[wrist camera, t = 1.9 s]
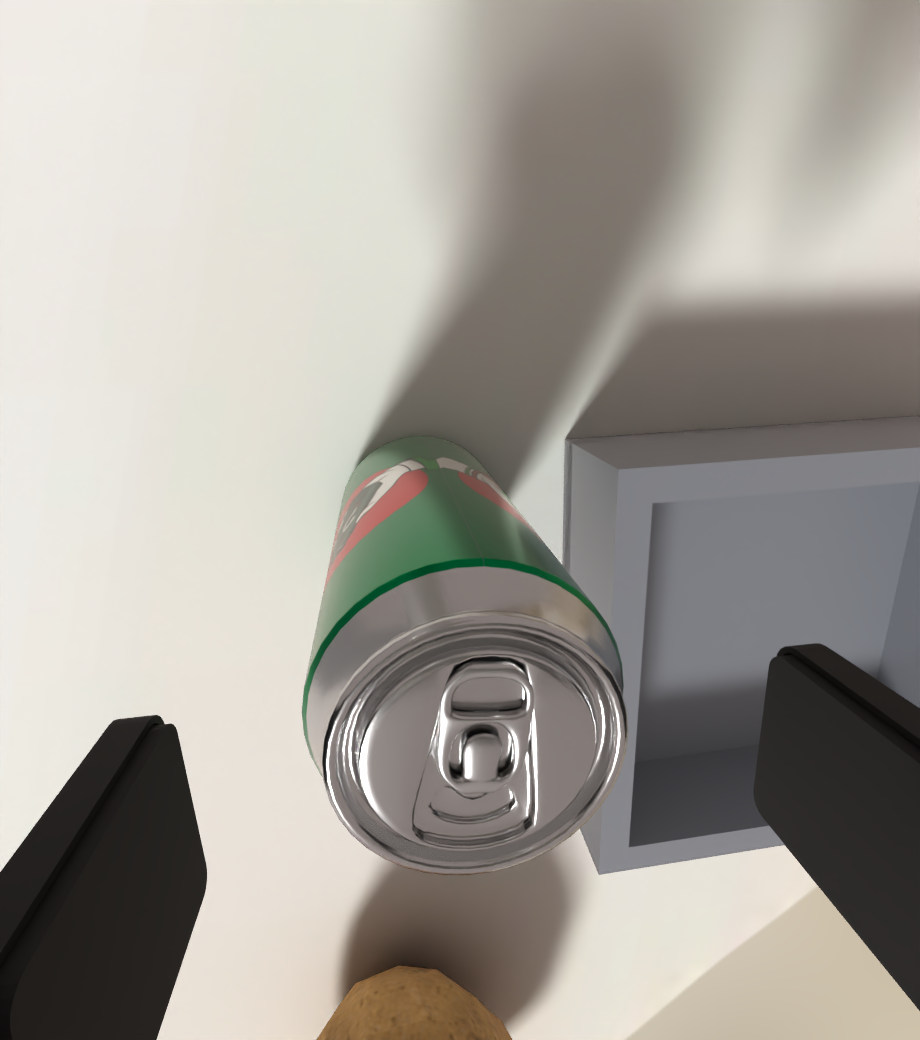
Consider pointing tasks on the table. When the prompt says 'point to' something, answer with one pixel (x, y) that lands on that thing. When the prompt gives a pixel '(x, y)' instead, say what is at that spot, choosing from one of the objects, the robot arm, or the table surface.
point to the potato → (412, 1010)
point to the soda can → (456, 672)
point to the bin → (734, 603)
